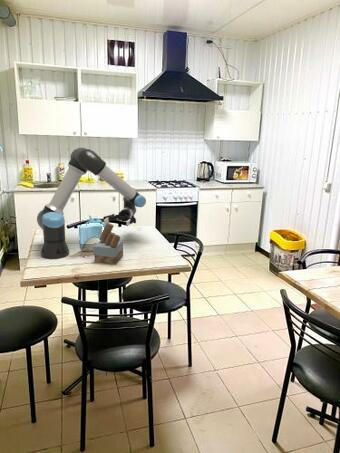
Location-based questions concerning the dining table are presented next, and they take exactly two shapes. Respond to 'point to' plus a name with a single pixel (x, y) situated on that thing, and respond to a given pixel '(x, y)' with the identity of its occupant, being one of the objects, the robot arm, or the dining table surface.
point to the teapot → (95, 221)
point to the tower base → (109, 259)
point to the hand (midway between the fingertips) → (115, 223)
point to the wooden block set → (109, 236)
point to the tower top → (107, 249)
